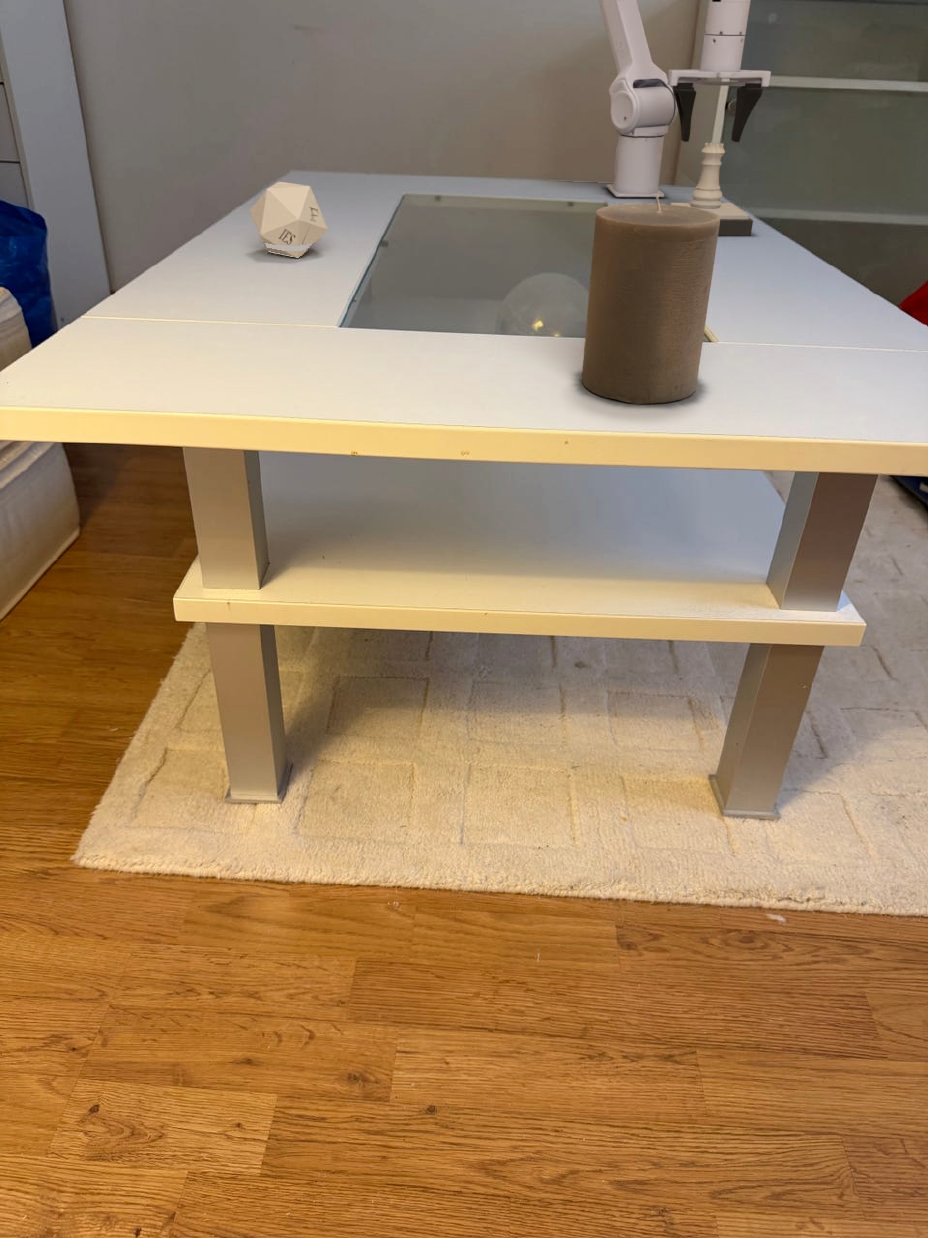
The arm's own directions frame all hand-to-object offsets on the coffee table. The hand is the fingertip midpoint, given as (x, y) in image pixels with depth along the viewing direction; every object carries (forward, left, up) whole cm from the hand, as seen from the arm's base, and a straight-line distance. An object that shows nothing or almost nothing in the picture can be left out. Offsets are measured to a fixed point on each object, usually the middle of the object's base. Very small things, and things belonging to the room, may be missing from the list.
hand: (710, 140), depth 143 cm
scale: (+15, -3, -9) cm, 18 cm away
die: (+31, -60, -10) cm, 68 cm away
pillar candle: (+79, -25, -10) cm, 83 cm away
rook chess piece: (+13, -3, -7) cm, 15 cm away
